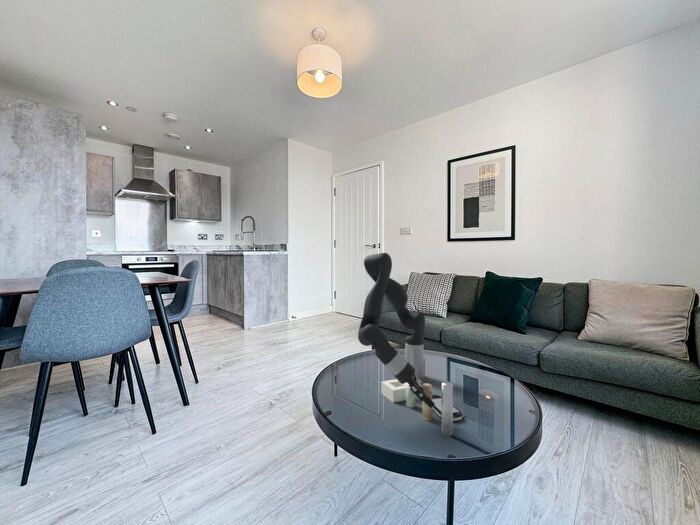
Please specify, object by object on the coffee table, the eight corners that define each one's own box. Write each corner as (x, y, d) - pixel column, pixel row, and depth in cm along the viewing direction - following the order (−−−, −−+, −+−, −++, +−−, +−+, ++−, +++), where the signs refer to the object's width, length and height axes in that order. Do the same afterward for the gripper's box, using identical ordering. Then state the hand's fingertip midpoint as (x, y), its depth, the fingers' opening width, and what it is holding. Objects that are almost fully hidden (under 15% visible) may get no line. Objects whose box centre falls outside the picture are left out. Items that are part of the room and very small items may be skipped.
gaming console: (421, 400, 123) (421, 394, 123) (440, 399, 125) (440, 393, 125) (444, 424, 104) (444, 417, 104) (467, 422, 106) (467, 415, 106)
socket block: (400, 389, 133) (400, 363, 133) (413, 398, 124) (413, 370, 124) (381, 393, 129) (381, 365, 129) (393, 402, 120) (393, 373, 120)
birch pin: (427, 414, 110) (428, 382, 110) (434, 419, 106) (434, 386, 107) (420, 416, 108) (420, 384, 109) (426, 421, 105) (426, 387, 105)
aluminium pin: (447, 428, 100) (447, 380, 101) (455, 434, 97) (455, 384, 97) (439, 431, 99) (439, 382, 99) (446, 436, 95) (446, 386, 96)
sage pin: (411, 403, 119) (411, 384, 120) (416, 406, 116) (417, 387, 116) (404, 404, 118) (404, 385, 118) (409, 408, 115) (409, 389, 115)
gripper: (407, 367, 102) (442, 403, 100) (406, 355, 116) (436, 386, 114) (392, 381, 103) (426, 417, 101) (392, 367, 117) (422, 399, 115)
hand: (431, 401), depth 107 cm, fingers open, 7 cm apart
